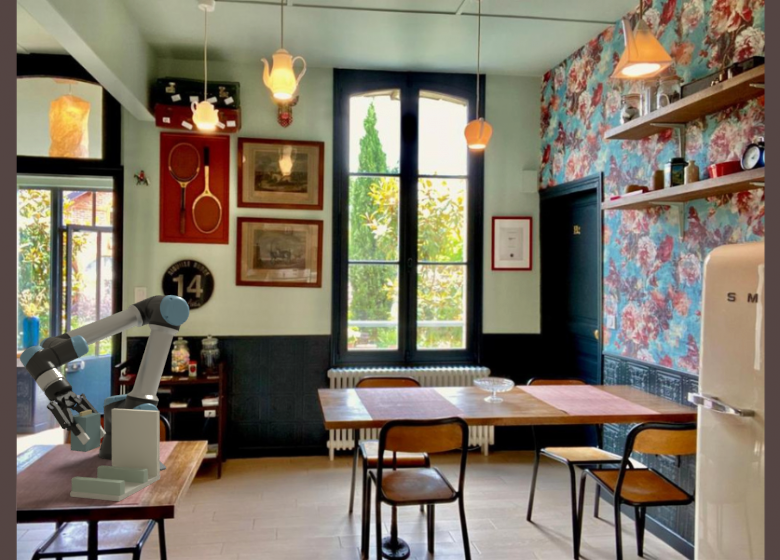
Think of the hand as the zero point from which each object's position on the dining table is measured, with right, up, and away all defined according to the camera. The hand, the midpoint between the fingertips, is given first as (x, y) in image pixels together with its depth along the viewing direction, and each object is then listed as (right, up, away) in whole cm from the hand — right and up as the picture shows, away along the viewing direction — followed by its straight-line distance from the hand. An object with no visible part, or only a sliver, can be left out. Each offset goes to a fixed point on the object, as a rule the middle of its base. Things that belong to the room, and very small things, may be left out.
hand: (94, 438), depth 179 cm
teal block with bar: (-4, -3, +1) cm, 5 cm away
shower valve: (+7, -18, +21) cm, 28 cm away
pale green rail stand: (+6, -17, +3) cm, 18 cm away
